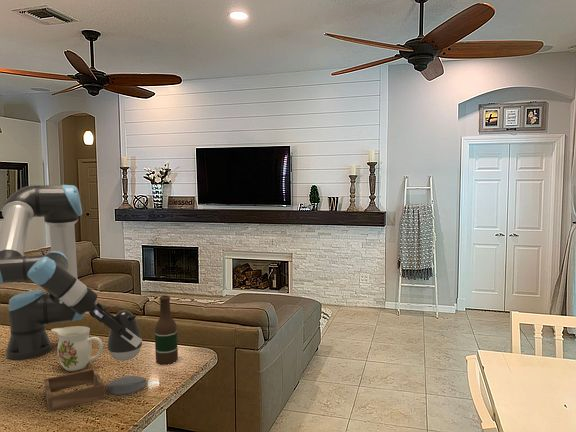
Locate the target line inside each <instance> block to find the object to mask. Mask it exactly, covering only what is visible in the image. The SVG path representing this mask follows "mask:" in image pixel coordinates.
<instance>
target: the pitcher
mask: <svg viewBox="0 0 576 432" xmlns="http://www.w3.org/2000/svg"><path fill="white" fill-rule="evenodd" d="M50 330H51V332H53V333H54V334H55V335H56V336H57V338H58V342H57V352H56V353H57V356H58V361H59V363H60V365H61V367H62V368H63V369H65V371H67V372H78V371H82V370H83V369H85V368H86V367H87V365H88V364H89V363H90V362H93V361H96V360H97V359H99V358H100V356H102V353H103V351H104V344H103V342H102V339H101V338H99V337H98V336H91V337H90V332H91V328H90V327H88V326H84V325H82V326H81V325H79V326H78V325H76V326H65V327H56V328H52V329H50ZM92 341H94V342H95V341H96V342H97V345H98V352H97V354H95V355H94V356H92V347H93V345H92Z"/></svg>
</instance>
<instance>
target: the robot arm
mask: <svg viewBox="0 0 576 432" xmlns="http://www.w3.org/2000/svg"><path fill="white" fill-rule="evenodd" d="M78 189H79V188H78V187H77V186H76V185H73V184H70V185H69V184H44V185H43V184H42V185H40V184H39V185H35V184H31V185H27V186H24V187H22V188H19V189H18V190H16V191H14V193H12V194H11V195H10V196H9V197H8V198H7V199H6V200H5V202H4V203H3V206H2V211H1V216H2V217H3V222H2V225H1V230H0V284H9V283H10V284H11V283H19V282H31V281H32V282H33V283H34V284H35V285H37V286H38V287H41V289H33V290H29V291H25V292H21V293H18V294H16V295H13V296H12V297H11V298H9V300H8V314H9V315H8V316H9V326H10V327H9V328H10V329H9V330H10V331H9V332H10V337H9V340H8V342H7V343H8V344H7V347H6V351H5V352H6V353H5V354H6V355H5V356H6V358H7V359H9V360H14V361H18V360H19V361H20V360H29V359H34V358H38V357H40V356H43V355H46V354H48V353H50V351H52V341H51V339H50V337H49V335H48V333H47V331H46V325H47V324H57V323H68V322H74V321H80V320H82V319H84V316H85V313H86V312H88V314H89V315H90V317H92V318H94V319H96V320H97V322H98V321H99V322H100V323H101V324H102V323H103V325H105V327H108V329H109V330H110V329H111V330H113V331H114V332H115V333H117V334H118V336H117V337H118V338H119V337H120V336H121V337H122V338H124V339H125V340H127V341H128V342H129V343H131V344H132V345H133V346H135V347H137V346H138V345H139V344H140V343H141V341H142V342H143V339H142V338H141V339H140V338H139V337H137V336H136V335H135V334H133V333H132V332H131V331H129V330H128V329H127V328H125V327H123V326H122V325H121V324H119V323H118V322H117V321H116V320H114V317H115V316H116V315H114V314H112V313H111V312H109V311H108V310H107V309H106V308H105V307H104V306H103V305H102V304H101V303H99V302H96V301H97V299H98V294H97V293H96V292H95V291H94V290H92V289H91V288H90V287H89V288H88V287H87V285H86V284H84V283H83V282H82V281H80V280H79V279H78V266H77V265H78V264H77V250H76V249H77V247H76V231H75V230H76V229H75V224H77V222H78V221H79V217H81V216H82V215H83V207H82V202H81V198H80V197H81V196H80V192H79V190H78ZM39 217H40V218H43V219H44V223H45V224H47V225H48V227H49V228H48V229H49V239H50V240H49V242H50V251H48V252H47V253H45V254H38V255H25V252H26V251H25V250H26V243H27V238H28V237H27V236H28V232H29V231H28V230H29V225H30V222H31V221H32V219H33V218H39ZM42 289H43V290H42ZM44 290H45V291H46V292H48V293H45V292H44ZM120 329H121V330H120Z"/></svg>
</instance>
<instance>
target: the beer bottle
mask: <svg viewBox="0 0 576 432" xmlns="http://www.w3.org/2000/svg"><path fill="white" fill-rule="evenodd" d="M158 300H159V302H160V303H159V305H160V306H159V319H158V320H157V322H156V323H155V327H154V342H155V344H154V346H155V348H154V349H155V351H154V352H155V362H156V364H159V365H160V366H169V365H172V364H175V363H176V362H177V361H176V360H178V357H179V356H178V355H179V352H178V327H177V324H176V320H174V318H173V317H172V314H171V313H172V312H171V311H172V310H171V301H170V300H171V297H170V296H169V295H161V296H160V297H159V299H158ZM174 362H175V363H174ZM168 364H169V365H168Z"/></svg>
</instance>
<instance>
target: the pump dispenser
mask: <svg viewBox="0 0 576 432" xmlns="http://www.w3.org/2000/svg"><path fill="white" fill-rule="evenodd" d="M114 316H115V317H114V320H116V321H117V322H118V323H119V324H121V325H122V326H123V327H125V328H127V329H128V330H129V331H131V332H132V333H133V334H135V335H136V336H137V337H139V338H140V339H142V334H141V331H140V327H139V325H138V322H137V319H136V318H137V316H136V315H135V314H133V313H132V312H131V311H129V310H127V309H123V310H122V309H121V310H119V311H118V312H117V313H116V314H115V315H114ZM120 330H121V329H120ZM117 336H118V334H117V333H115V332H114V331H113V330H111V329H110V328H109V332H108V337H107V350H108V352H109V354H110V357H112V359H114V360H116V361H123V362H124V361H129V360H133V358H136V357H137V356H138V355H139V353H140V351H141V347H142V346H143V340H142V341H141V343H140V344H139V345H138V346H137V347H135V346H133V345H132V344H131V343H129V342H128V341H127V340H125V339H124V338H122V337H121V336H120V337H119V338H118V337H117Z"/></svg>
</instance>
